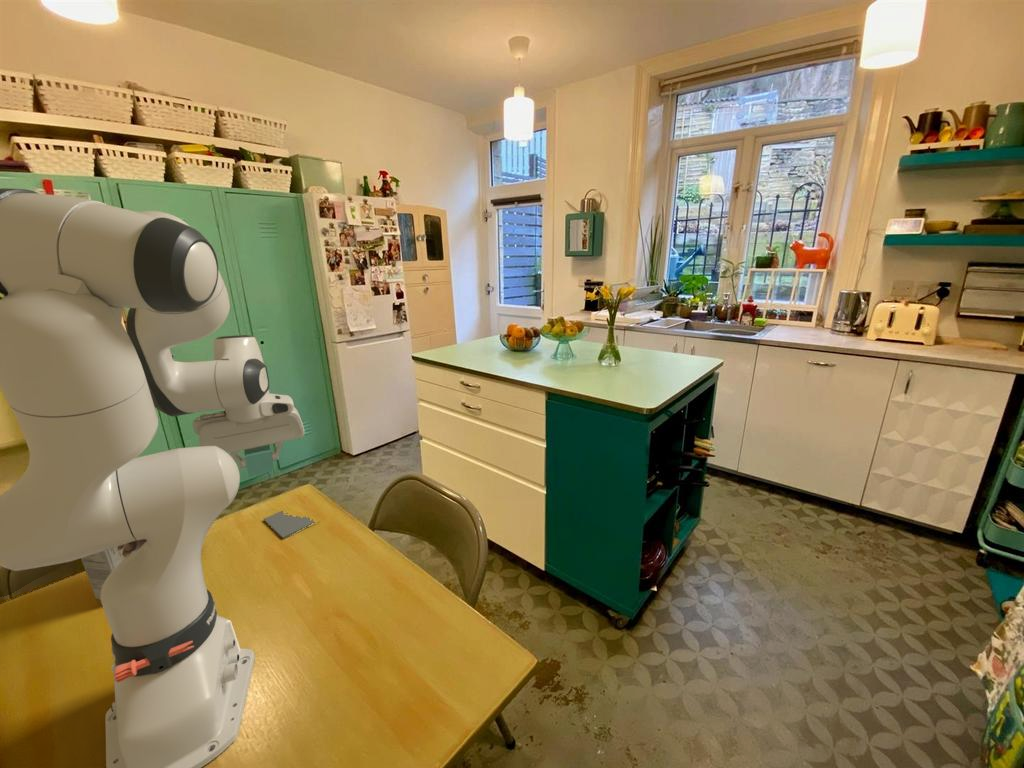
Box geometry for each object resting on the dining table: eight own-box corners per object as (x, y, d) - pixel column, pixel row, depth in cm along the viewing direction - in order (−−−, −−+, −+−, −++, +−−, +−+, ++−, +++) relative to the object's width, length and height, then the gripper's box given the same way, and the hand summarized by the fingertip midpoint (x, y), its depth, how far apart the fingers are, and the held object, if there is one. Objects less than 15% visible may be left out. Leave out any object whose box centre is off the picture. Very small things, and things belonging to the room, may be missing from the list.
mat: (319, 522, 108) (319, 520, 108) (283, 539, 102) (282, 537, 102) (299, 505, 116) (298, 503, 116) (263, 520, 109) (263, 518, 109)
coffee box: (138, 568, 93) (118, 504, 88) (164, 570, 92) (144, 506, 88) (94, 600, 84) (68, 531, 80) (121, 603, 83) (97, 533, 79)
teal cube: (274, 470, 97) (270, 451, 95) (248, 476, 94) (244, 456, 93) (272, 462, 101) (268, 443, 99) (248, 467, 98) (244, 448, 97)
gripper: (189, 421, 85) (204, 481, 89) (300, 402, 95) (309, 457, 100) (191, 411, 90) (206, 469, 94) (297, 395, 100) (305, 447, 105)
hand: (260, 463), depth 97 cm, fingers closed on teal cube, 5 cm apart
